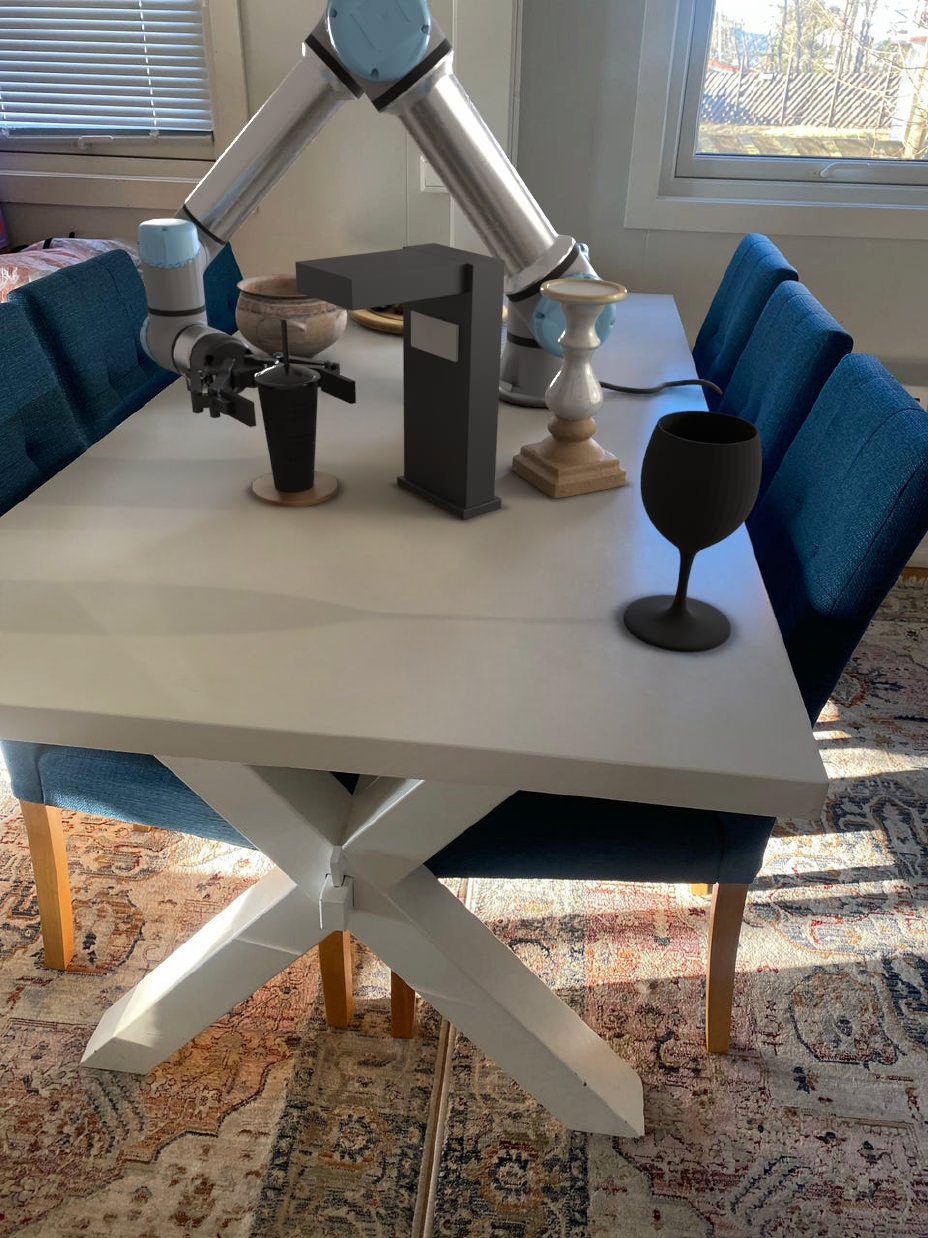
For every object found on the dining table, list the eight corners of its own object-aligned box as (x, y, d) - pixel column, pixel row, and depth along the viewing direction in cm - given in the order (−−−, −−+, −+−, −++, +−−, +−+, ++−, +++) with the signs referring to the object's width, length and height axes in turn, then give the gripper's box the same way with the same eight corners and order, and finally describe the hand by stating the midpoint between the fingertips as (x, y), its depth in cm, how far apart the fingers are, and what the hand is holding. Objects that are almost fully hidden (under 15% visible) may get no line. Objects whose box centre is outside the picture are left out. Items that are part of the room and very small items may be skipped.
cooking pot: (243, 337, 181) (237, 269, 174) (346, 337, 183) (343, 269, 177) (234, 377, 159) (227, 301, 153) (350, 376, 162) (348, 300, 156)
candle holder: (554, 499, 120) (569, 300, 108) (509, 468, 128) (519, 280, 116) (626, 485, 124) (649, 292, 112) (579, 456, 133) (595, 274, 121)
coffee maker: (433, 474, 126) (436, 241, 111) (501, 507, 117) (513, 260, 103) (303, 513, 115) (287, 259, 100) (367, 552, 106) (360, 281, 92)
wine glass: (612, 598, 99) (635, 407, 88) (712, 596, 100) (746, 407, 89) (636, 654, 90) (665, 448, 80) (746, 651, 91) (787, 447, 80)
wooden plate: (416, 293, 217) (416, 254, 212) (537, 316, 201) (540, 274, 197) (316, 319, 194) (314, 276, 190) (444, 347, 178) (445, 301, 174)
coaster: (341, 474, 125) (341, 470, 125) (332, 507, 116) (332, 503, 116) (260, 472, 125) (260, 468, 125) (245, 505, 116) (245, 501, 116)
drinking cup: (313, 500, 116) (304, 331, 106) (253, 493, 118) (238, 325, 107) (333, 476, 123) (326, 315, 113) (276, 470, 124) (264, 310, 114)
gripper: (300, 373, 135) (391, 413, 121) (128, 407, 121) (209, 457, 107) (296, 318, 131) (390, 353, 118) (118, 347, 117) (201, 391, 103)
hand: (304, 403), depth 112 cm, fingers open, 13 cm apart
